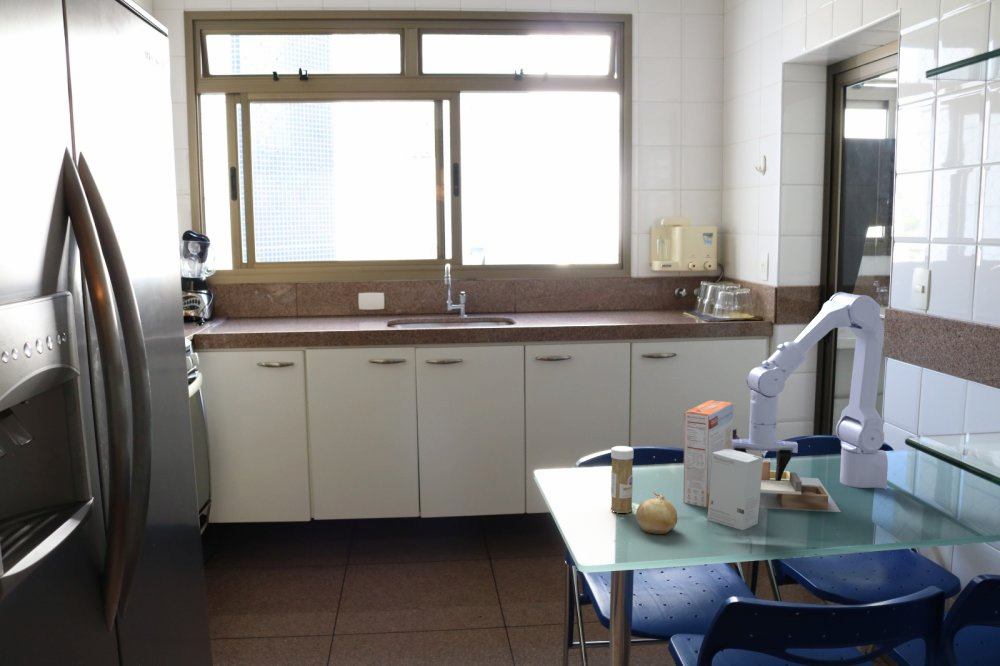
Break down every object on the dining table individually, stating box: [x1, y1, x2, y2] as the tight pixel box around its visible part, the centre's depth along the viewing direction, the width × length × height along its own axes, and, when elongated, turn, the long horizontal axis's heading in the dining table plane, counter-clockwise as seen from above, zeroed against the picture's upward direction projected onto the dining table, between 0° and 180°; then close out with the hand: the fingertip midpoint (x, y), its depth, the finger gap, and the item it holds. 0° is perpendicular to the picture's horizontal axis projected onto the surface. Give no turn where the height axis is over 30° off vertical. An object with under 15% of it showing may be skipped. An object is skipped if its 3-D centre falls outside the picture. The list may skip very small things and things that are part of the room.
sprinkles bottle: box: [610, 445, 634, 514], centre depth 175 cm, size 5×5×13 cm
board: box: [759, 469, 842, 513], centre depth 184 cm, size 16×23×3 cm
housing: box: [776, 485, 828, 511], centre depth 177 cm, size 9×7×3 cm
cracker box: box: [682, 399, 734, 509], centre depth 181 cm, size 14×6×21 cm, turn 145°
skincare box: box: [706, 449, 764, 531], centre depth 166 cm, size 8×6×15 cm
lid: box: [760, 471, 802, 495], centre depth 177 cm, size 8×7×3 cm
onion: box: [635, 491, 679, 535], centre depth 165 cm, size 8×8×7 cm
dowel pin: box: [761, 459, 771, 481], centre depth 186 cm, size 4×4×6 cm
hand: (760, 482), depth 187 cm, fingers open, 6 cm apart
